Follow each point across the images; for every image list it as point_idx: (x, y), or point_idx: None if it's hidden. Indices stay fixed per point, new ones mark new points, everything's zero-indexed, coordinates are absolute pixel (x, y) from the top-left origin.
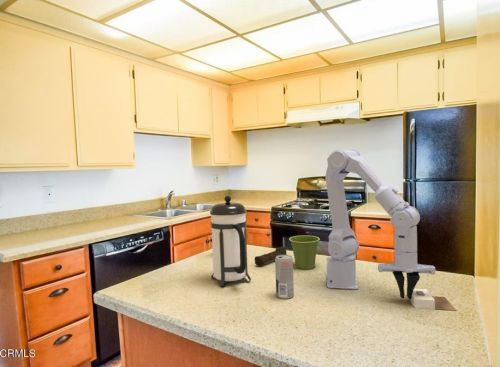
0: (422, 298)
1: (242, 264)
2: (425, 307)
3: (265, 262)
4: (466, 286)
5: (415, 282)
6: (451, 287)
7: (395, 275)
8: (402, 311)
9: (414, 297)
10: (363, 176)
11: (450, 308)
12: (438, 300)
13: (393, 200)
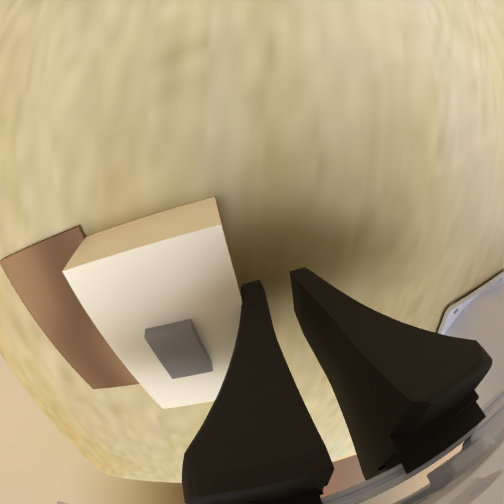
0: (151, 268)
1: None
2: (138, 221)
3: None
4: (83, 447)
5: (230, 407)
6: (111, 442)
7: (486, 372)
8: (302, 93)
9: (220, 261)
10: None
11: (22, 272)
12: (98, 351)
13: None
